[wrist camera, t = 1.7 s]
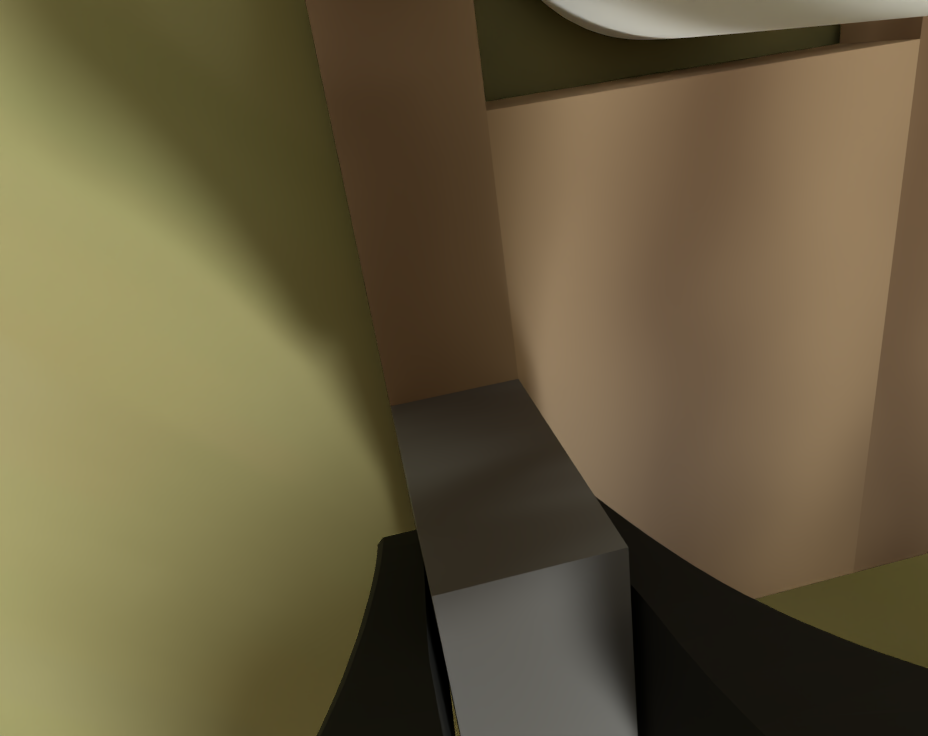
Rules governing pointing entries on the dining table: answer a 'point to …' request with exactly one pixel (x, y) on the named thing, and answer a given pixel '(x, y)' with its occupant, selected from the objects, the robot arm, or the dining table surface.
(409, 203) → the tan channel tray
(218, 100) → the dining table surface
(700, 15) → the can
